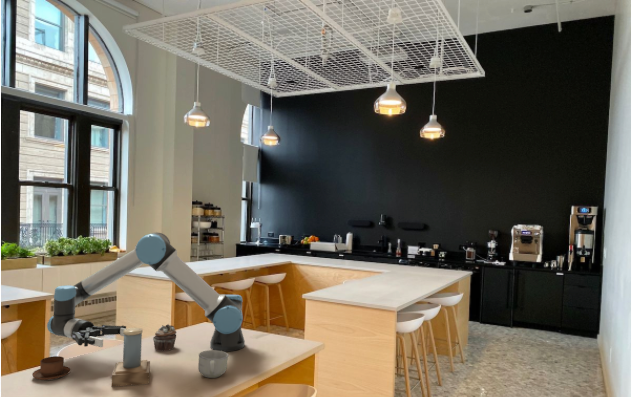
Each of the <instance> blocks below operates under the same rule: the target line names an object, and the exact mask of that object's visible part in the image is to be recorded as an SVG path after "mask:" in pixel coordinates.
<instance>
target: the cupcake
mask: <svg viewBox="0 0 632 397" xmlns="http://www.w3.org/2000/svg"><path fill="white" fill-rule="evenodd" d="M154 333H155V334H154V337H152V338H153V339H152V340H153V344H154V346H153V347H154V350H155V351H158V352H167V351H171V350H173V349H174V348H175V342H176V338H177V331H176V329H175V326H174V325H170V324H169V323H168V324H166V325H161V326H160V328H159V327H158V330H157V331H156V332H154Z"/></svg>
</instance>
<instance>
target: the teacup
mask: <svg viewBox="0 0 632 397" xmlns="http://www.w3.org/2000/svg"><path fill="white" fill-rule="evenodd" d="M228 360H229V353H227V351H217V350H214V349H212V350H211V349H210V350H209V349H208V350H204V351H200V352H199V353H198V366H197V368H198V372H199V373H200V374H201V375H202V376H203V377H205V378H210V379H214V378H219V377H221V376H222V375H223V374H225V372H226V370H227V367H228Z"/></svg>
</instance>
